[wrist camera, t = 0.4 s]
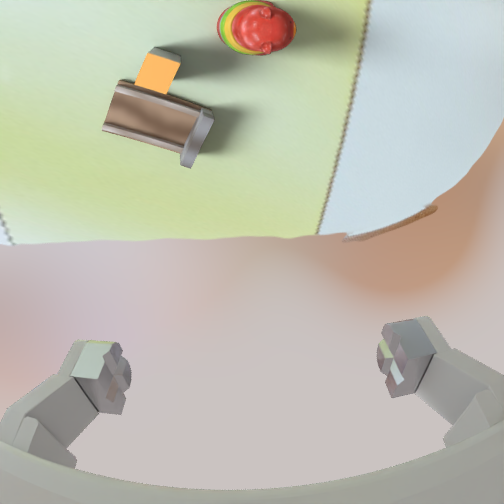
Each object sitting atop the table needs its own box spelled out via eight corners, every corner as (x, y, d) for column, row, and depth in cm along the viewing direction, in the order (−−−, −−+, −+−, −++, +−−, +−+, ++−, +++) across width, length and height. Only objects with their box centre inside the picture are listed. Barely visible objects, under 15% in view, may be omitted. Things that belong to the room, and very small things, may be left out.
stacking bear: (271, 55, 45) (308, 73, 33) (214, 53, 43) (228, 68, 31) (276, 2, 38) (318, -3, 26) (217, -2, 36) (234, -14, 24)
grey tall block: (154, 47, 40) (147, 53, 32) (180, 55, 42) (180, 63, 35) (143, 72, 43) (134, 84, 35) (169, 80, 45) (166, 94, 37)
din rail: (119, 79, 42) (113, 86, 38) (211, 109, 51) (214, 119, 47) (103, 128, 48) (95, 140, 44) (189, 154, 56) (190, 168, 52)
